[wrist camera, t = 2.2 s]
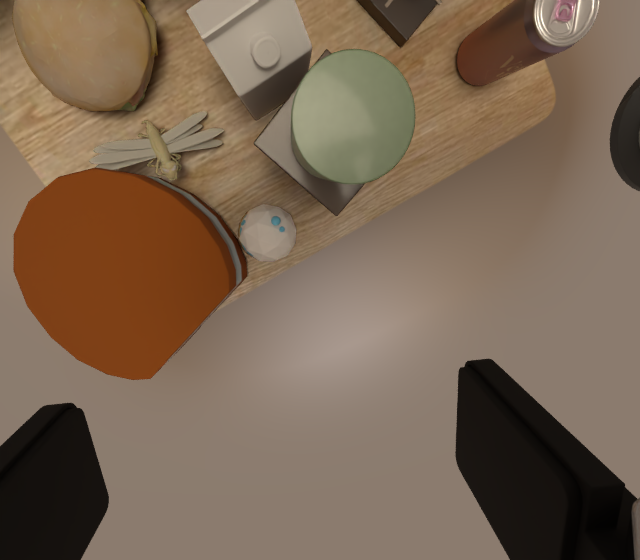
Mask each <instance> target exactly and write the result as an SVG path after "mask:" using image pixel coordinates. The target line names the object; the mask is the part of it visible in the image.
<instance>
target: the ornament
mask: <svg viewBox="0 0 640 560" xmlns="http://www.w3.org/2000/svg"><path fill="white" fill-rule="evenodd" d="M238 236H239V241H240V244H241V246H242V248H243V249H244V250H245V252H246V253H247V254H249V255H250V256H252V257H254V258H255V259H257V260H258V261H270V262H274V261H276V260H279V259H281V258H284V257H286V256H287V255H288V254H289V252H290V251H291V249H292V248H293V246H294V245H295V243H296V227H295V224H294V222H293V219H292V217H291V214H289V213H287V212H286V211H284V210H283V209H281V208H280V207H278V206H272V205H266V204H261V205H259V206H257V207H255V208H253V209H250V210H249V211H248V212H247V213H246V214H245V215H244V216H243V218H242V220H241V222H240V225H239V229H238Z"/></svg>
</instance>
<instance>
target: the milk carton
mask: <svg viewBox="0 0 640 560" xmlns="http://www.w3.org/2000/svg"><path fill="white" fill-rule="evenodd" d="M187 13H188V15H189V17H190V18H191V20H192V22H193V23H194V25H195V27H196V28H197V30H198V32H199V34H200V35H201V38H202V39H203V41H204V42H205V44H206V45H207V47H208V48H209V50H210V52H211V53H212V55H213V56H214V58H215V60H216V61H217V63H218V64H219V66H220V68H221V69H222V71H223V72H224V74H225V76H226V77H227V79H228V80H229V82H230V84H231V85H232V87H233V88H234V90H235V92H236V93H237V95H238V96H239V98H240V99H241V101H242V102H243V104H244V105H245V106H246V108H247V109H248V111H249V112H250V113H251V115H252V116H253V118H254V119H255V120H258V119H260V118H261V117H263V116H264V115H266V114H267V113H269V112H270V111H272V110H273V109H275V108H276V107H278V106H279V105H281V104H282V103H284V102H285V101H286V100H287V99H288V98H289V97H290V95H291V94H292V93H293V91H294V90H295V89H296V88H297V86H298V85H299V84H300V82H301V80H302V79H303V77H304V76H305V74H306V73H307V72H308V70H309V64H310V58H311V52H312V45H311V42H310V39H309V37H308V34H307V32H306V29H305V26H304V24H303V21H302V18H301V16H300V13H299V10H298V8H297V5H296V2H295V0H200V1H199V2H198V3H196V4H195V5H193V6H192V7H191V8H189V9H188V10H187Z"/></svg>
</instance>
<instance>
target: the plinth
mask: <svg viewBox="0 0 640 560" xmlns="http://www.w3.org/2000/svg"><path fill="white" fill-rule="evenodd" d="M330 54H331V53H330V52H329V51H328V50H327V49H326V50H325V51H324V53H323V54H322V55H321V57H320V58H319V59H318V60H317V62H318V61H320V60H321V59H323V58H324V57H326V56H328V55H330ZM317 62H316V63H317ZM316 63H315V64H316ZM315 64H314V65H315ZM298 86H299V85H298ZM298 86H297V88H298ZM297 88H296V89H295V90H294V91H293V93H292V94H291V95H290V97H289V98H288V99H287V100H286V102H285V103H284V104H283V106H282V107H281V108H280V109H279V111H278V112H277V113H276V115H275V116H274V117H273V118H272V120H271V121H270V122H269V124H268V125H267V126H266V127H265V129H264V130H263V131H262V133H261V134H260V135H259V136H258V138H257V139H256V140H255V142H254V145H255V146H256V147H258V148H259V149H260V150H261V151H262V152H263V153H264V154H266V155H267V156H268V157H269V158H270V159H271V160H272V161H274V162H275V163H276V164H277V165H278V166H279V167H280V168H282V169H283V170H284V171H285V172H286V173H287V174H288V175H290V176H291V177H292V178H293V179H294V180H295V181H296V182H298V183H299V184H300V185H301V186H302V187H303V188H304V189H306V190H307V191H308V192H309V193H310V194H311V195H312V196H314V197H315V198H316V199H317V200H318V201H319V202H320V203H321V204H323V205H324V206H325V207H326V208H327V209H328V210H329V211H331V212H332V213H333V214H334V215H335V216H338V215H339V213H340V212H341V211H342V210H343V209H344V208H345V206H346V205H347V204H348V203H349V202H350V201H351V199H352V198H353V197H354V196H355V195H356V194H357V192H358V191H359V190H360V189H361V188H362V187H363V185H364V184H365V183H363V184H352V185H349V184H341V183H337V182H333V181H329V180H325V179H321V178H318V177H316V176H314V175H312V174H310V173H309V172H308V171H306V170H305V169H304V168H303V167H302V166H301V164H300V163H299V162H298V160H297V158H296V156H295V154H294V151H293V148H292V142H291V111H292V104H293V99H294V96H295V93H296V90H297Z"/></svg>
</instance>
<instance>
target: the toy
mask: <svg viewBox="0 0 640 560" xmlns="http://www.w3.org/2000/svg"><path fill="white" fill-rule="evenodd" d="M206 115H207V112H206V111H201V112H198V113H195V114H193V115H191V116H190V117H188V118H187V119H185V120H184V121H182V122H181V123H179V124H178V125H176V126H175V127H173V128H172V129H170V130H169V131H167V132H166V133H164V134H163V135H161V134H162V133H163V132H164V131H165V128H162V129H160V131H161V132H160V133H159V131H158V129H157V128H156V127H155V126H154V125H152V124H151V123H150V122H149V121H148V120H145V121H142V124H143V123H146V129H147V130H146V133H147V135H148V136H145V135H143V134H139V135H138V137H141V136H142V137H147V138H149V139H134V140H120V141H113V142H108V143H105V144H102V145H101V146H97V147H95V148H94V150H93V151H94V152H95V153H107V154H100V155H97V156H94V157H93V158H91V159H90V160H89V162H90V163H92V164H99V165H97V166H96V167H97V168H103V169H109V170H117V169H120V168H124V167H127V166H130V165H134V164H137V163H140V162H144V161H147V160H150V159H152V160H151V161H150V162H149V163H148V164H147V166H149V167H156V171H155V173H156V174H157V175H158V176H167V178H168V179H169V180H170V179H171V180H174V179H177V172H178V171H180V170H181V165H179V163H178V162H180V161H178V162H177V161H176V160H177V159H178V158H180V157H181V155H179V154H176V153H177V152H185V151H192V150H200V149H207V148H213V147H218V146H220V145H222V141H220V140H216V139H212V138H214V137H216V136H217V135H219V134H221V133H222V132H223V131H224V129H219V128H210V129H207V130H204V131H201V132H198V133H196V134H193V133H194V132H196V131H198V130H199V129H200V128H202V126H203V125H199V124H198V123H199V122H200V121H201V120H202V119H203V118H205V117H206ZM196 124H197V125H196ZM191 134H193V135H191ZM160 135H161V136H160ZM189 135H191V136H189ZM171 143H172V144H171ZM168 144H169V145H168ZM174 153H175V154H174ZM171 155H175V156H176V157H177V156H178V157H177V158H175V159H174V158H173V157H172V156H171ZM171 158H172V159H173V161H171ZM155 159H157V163H156V165H150V164H151V163H152V162H153V161H154V160H155ZM179 160H180V159H179ZM159 161H160V162H161V163H162V164H161V166H158V165H159ZM174 161H175V162H176V163H175V162H174ZM177 165H178V166H179V167H180V168H179V169H178V166H177ZM96 167H95V168H96ZM158 168H160V170H161V172H162V173H163V174H158ZM164 174H165V175H164ZM171 180H170V181H171Z"/></svg>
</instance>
